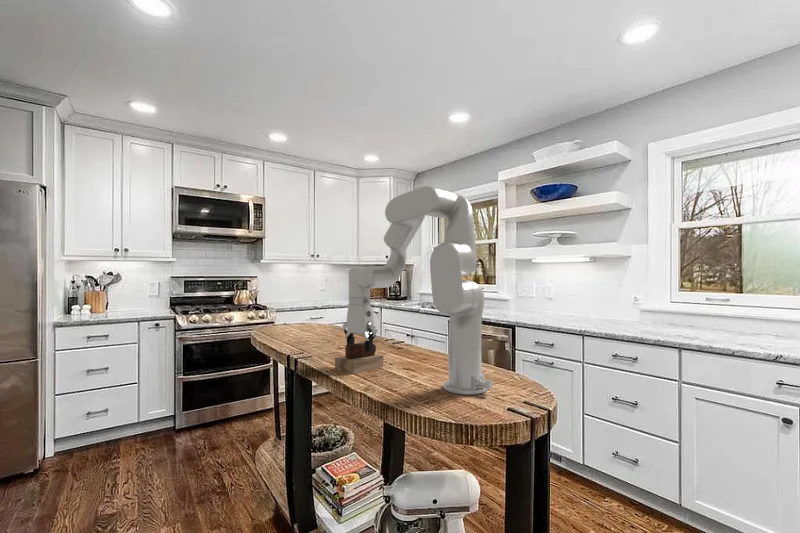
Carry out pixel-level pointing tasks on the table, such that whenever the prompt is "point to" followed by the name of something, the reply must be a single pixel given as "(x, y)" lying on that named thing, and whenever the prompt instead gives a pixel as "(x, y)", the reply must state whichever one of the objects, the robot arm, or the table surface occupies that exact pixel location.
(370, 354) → the brick
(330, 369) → the table surface
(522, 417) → the table surface
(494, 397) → the table surface
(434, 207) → the robot arm
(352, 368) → the base block
